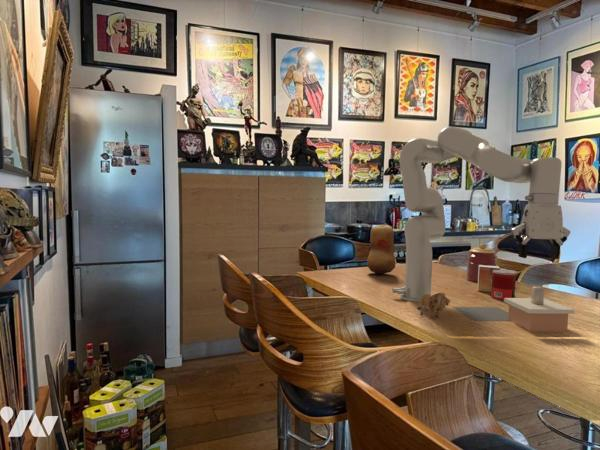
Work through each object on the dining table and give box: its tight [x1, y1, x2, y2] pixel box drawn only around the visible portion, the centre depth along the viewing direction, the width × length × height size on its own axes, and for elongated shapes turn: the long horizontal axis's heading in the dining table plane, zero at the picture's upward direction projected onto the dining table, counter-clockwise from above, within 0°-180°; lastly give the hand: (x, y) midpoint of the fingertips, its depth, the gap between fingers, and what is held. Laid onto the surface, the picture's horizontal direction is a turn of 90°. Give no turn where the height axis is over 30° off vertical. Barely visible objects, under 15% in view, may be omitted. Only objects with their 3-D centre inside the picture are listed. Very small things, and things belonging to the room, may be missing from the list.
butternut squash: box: [366, 224, 396, 276], centre depth 201 cm, size 14×13×25 cm
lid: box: [503, 285, 575, 315], centre depth 119 cm, size 13×13×6 cm
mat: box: [452, 306, 511, 322], centre depth 131 cm, size 16×16×1 cm
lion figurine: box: [416, 292, 451, 321], centre depth 129 cm, size 15×5×9 cm, turn 17°
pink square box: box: [508, 304, 569, 333], centre depth 120 cm, size 11×11×6 cm
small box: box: [477, 265, 501, 293], centre depth 168 cm, size 8×6×10 cm
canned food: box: [490, 269, 517, 302], centre depth 153 cm, size 8×8×11 cm
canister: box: [466, 243, 498, 283], centre depth 190 cm, size 13×13×18 cm
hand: (538, 257), depth 119 cm, fingers open, 9 cm apart
